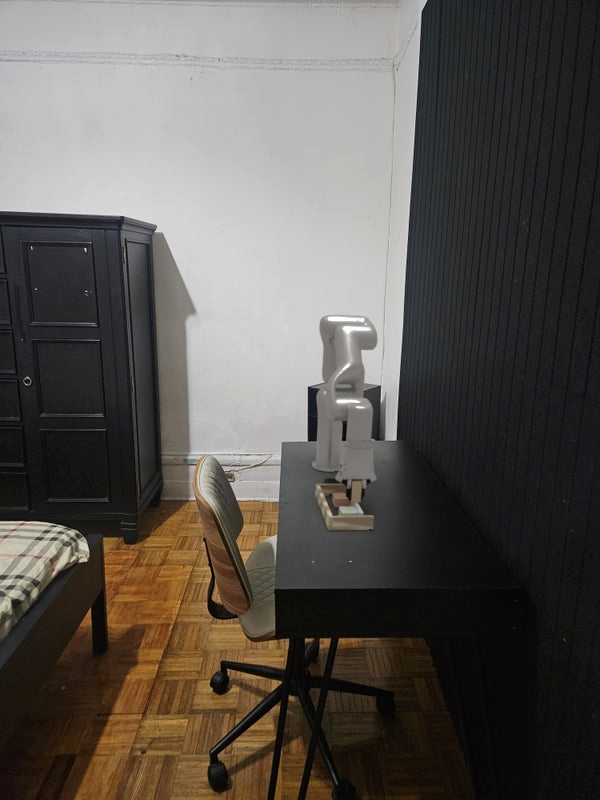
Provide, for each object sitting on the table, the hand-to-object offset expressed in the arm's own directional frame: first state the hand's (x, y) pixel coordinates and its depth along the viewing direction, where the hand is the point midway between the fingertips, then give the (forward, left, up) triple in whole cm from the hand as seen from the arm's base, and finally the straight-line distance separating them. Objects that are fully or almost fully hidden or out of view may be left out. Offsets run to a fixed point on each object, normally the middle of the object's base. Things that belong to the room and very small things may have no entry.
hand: (354, 498), depth 168 cm
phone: (-19, -2, -5) cm, 20 cm away
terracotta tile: (-5, -3, -4) cm, 7 cm away
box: (0, -3, -4) cm, 5 cm away
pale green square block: (+5, -3, -4) cm, 8 cm away
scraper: (0, 0, -4) cm, 4 cm away
